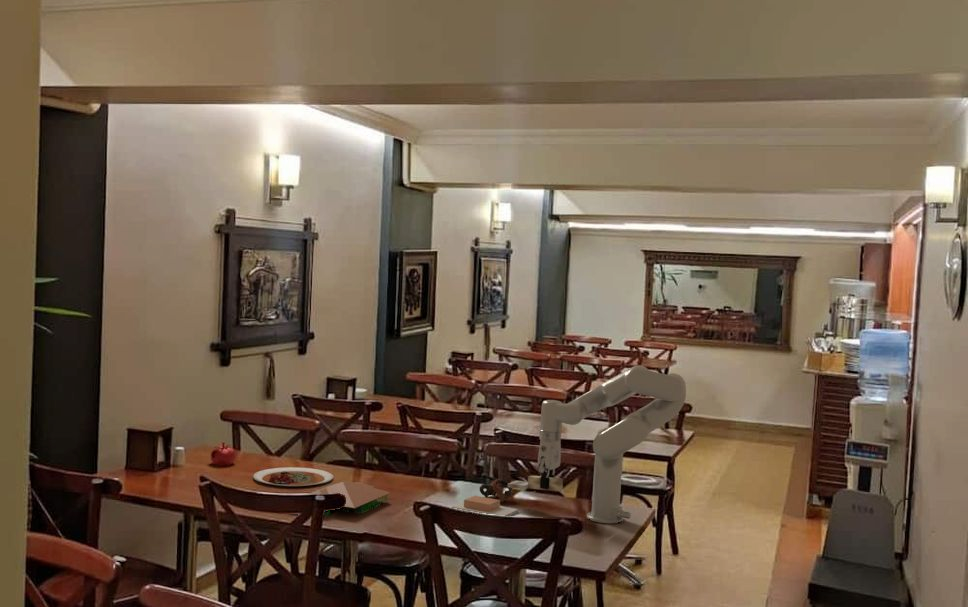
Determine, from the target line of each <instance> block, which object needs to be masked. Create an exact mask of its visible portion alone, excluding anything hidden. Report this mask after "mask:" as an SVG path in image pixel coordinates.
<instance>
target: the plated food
mask: <svg viewBox="0 0 968 607" xmlns="http://www.w3.org/2000/svg"><path fill="white" fill-rule="evenodd" d="M276 473H279V474H276ZM307 473H311V474H315V475H320V476H322V477H323V478H324V480H322V481H320V482H316V483H310V482H313V481H315V479H314V478H313V477H312V476H310V475H309V474H307ZM270 474H271V475H270ZM267 475H270V478H269V480H268V481H265V480H263V479H264V477H265V476H267ZM252 478H253V479H254V480H255V481H256V482H259V483H263V484H267V485H273V486H277V487H278V486H279V487H307V486H314V485H321V484H325V483H328V482H330V481H332V480H333V479H334V475H333V474H332V473H330V472H329V471H326V470H322V469H316V468H311V467H294V466H293V467H291V466H289V467H274V468H268V469H267V468H266V469H263V470H260V471H256V472H255V473H254V474H253V476H252ZM297 483H298V484H297Z"/></svg>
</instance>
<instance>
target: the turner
mask: <svg viewBox="0 0 968 607" xmlns="http://www.w3.org/2000/svg"><path fill="white" fill-rule="evenodd" d="M549 478H550V480H549V489H542V488H540V479H541V477H540V475H533V474H532V475H528V476H527V481H524V480H514V481H511V482H508V487H510V488H512V489H520V490H521V489H523V490H526V489H534V490H544V491H552V492H562V491H563V490H564V489H563V488H564V487H563V485H564V482H563V480H564V479H563V478H562V477H555V476H554V477H549ZM508 487H507V488H508Z"/></svg>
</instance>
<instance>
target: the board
mask: <svg viewBox="0 0 968 607" xmlns="http://www.w3.org/2000/svg"><path fill="white" fill-rule="evenodd" d="M452 508H457V509H462V510H467V511H474V512H479V513H486V514H496V515H505V516H509V517H510V515H511V516H513V515H515V514H517V513H519V508H513V507H508V506H502V505H500V507H499V508H497V509H494V510H492V511H490V512H487V511H482V510H477V509H472V508H466V507H464V501H462V502H460V503H457V504H455V505H452V506H451V509H452Z"/></svg>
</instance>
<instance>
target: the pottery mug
mask: <svg viewBox="0 0 968 607" xmlns="http://www.w3.org/2000/svg"><path fill="white" fill-rule="evenodd" d="M500 483H501V486H502V487H505V488H507V489H508V490H505V491H504V492H503V489H502V488H500V487H499V486H498V485H499V484H500ZM508 483H509V482H508V481H506V480H504V479H500V478H499V479H495V480H494V481H492V482H490V483H489V484H487V483H482V484H481V485H480V487H479V492H480V494H481V495H482V496H483V497H485V498H489V496H492V497H496V496H497V494H498V495H499V496H500V498H499V499H498V500H500V503H503V502H505V501H506V500H508V499H509V498H511V496H512V490H513V488H510V487H508Z"/></svg>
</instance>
